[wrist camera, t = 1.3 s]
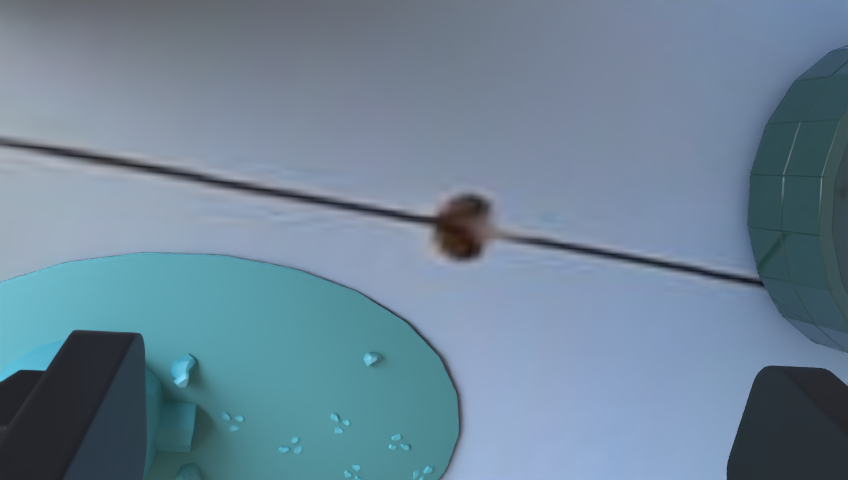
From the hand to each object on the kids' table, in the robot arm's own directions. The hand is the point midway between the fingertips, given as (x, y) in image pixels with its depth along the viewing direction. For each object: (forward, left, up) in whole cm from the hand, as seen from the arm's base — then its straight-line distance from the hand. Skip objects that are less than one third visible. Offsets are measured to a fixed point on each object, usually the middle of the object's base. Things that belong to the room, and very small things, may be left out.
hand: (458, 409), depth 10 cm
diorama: (+5, -5, -19) cm, 20 cm away
